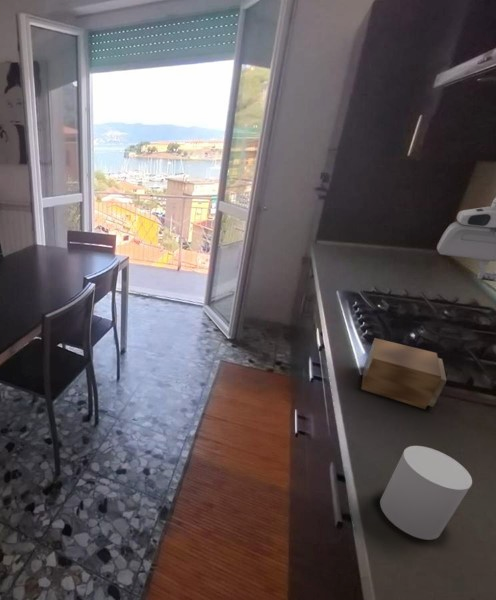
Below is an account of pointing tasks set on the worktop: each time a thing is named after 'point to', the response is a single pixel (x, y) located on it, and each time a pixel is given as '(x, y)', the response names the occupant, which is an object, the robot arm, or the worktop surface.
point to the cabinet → (401, 373)
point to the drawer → (440, 384)
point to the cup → (424, 492)
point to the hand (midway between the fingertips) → (486, 279)
